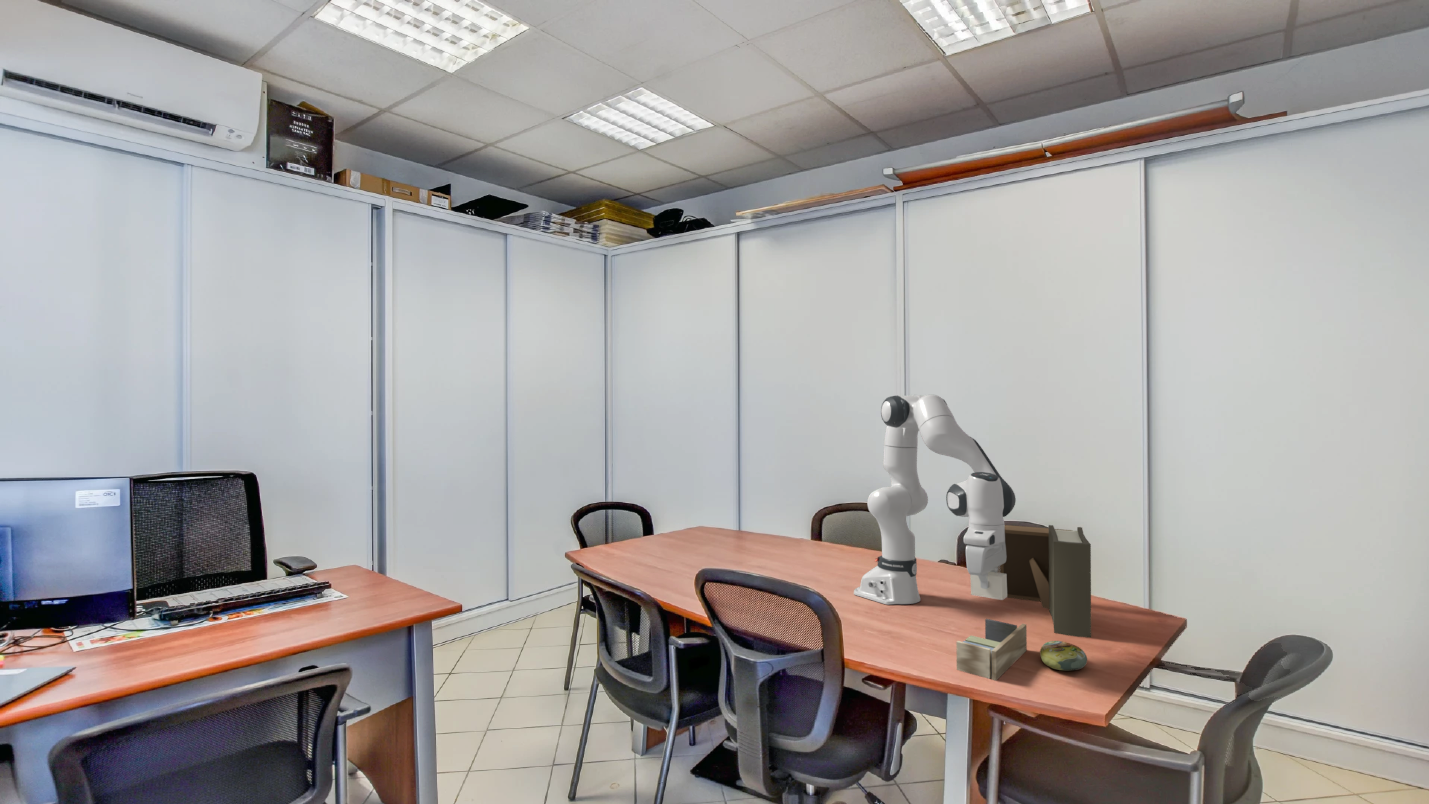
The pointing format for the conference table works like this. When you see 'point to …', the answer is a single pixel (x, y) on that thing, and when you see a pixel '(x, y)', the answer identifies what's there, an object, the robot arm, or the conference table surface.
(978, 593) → the book ivory
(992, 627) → the bookend
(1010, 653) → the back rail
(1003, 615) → the conference table surface
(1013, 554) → the photo frame
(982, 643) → the book olive
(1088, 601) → the book
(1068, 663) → the cell model
